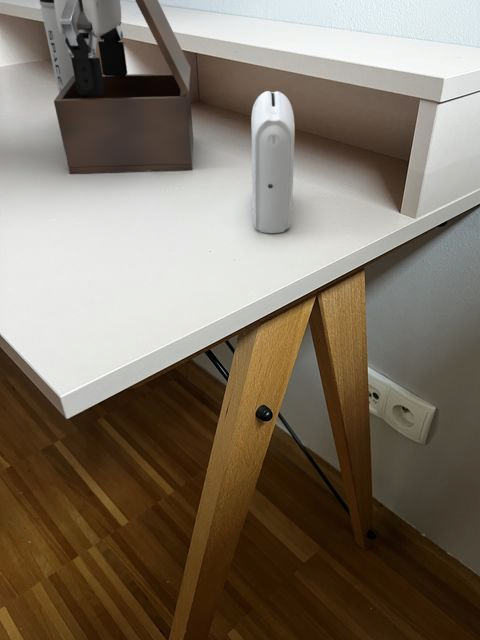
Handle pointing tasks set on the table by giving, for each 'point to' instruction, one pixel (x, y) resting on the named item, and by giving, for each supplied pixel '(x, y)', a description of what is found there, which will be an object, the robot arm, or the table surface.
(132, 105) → the storage box
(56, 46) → the travel mug
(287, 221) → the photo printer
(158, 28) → the lid
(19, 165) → the table surface
